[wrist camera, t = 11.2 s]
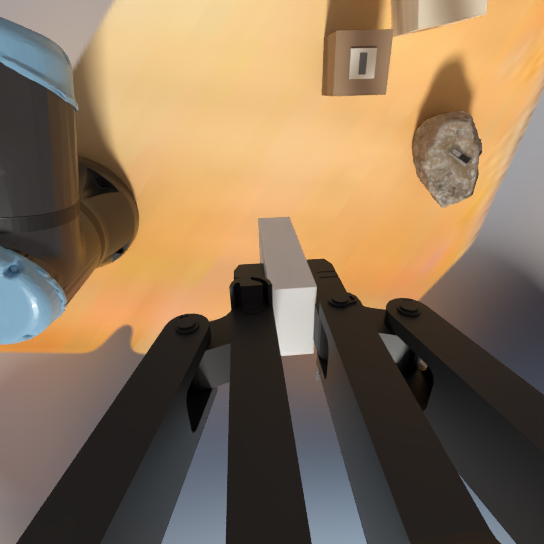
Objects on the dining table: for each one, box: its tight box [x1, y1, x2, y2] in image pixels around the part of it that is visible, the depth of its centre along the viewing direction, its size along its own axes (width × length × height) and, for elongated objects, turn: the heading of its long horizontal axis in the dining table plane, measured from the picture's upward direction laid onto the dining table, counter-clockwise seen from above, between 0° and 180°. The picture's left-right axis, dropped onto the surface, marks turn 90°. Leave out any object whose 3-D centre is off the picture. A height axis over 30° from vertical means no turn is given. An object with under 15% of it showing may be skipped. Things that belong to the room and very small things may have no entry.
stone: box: [413, 110, 482, 208], centre depth 45 cm, size 7×12×7 cm, turn 26°
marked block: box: [322, 29, 393, 96], centre depth 39 cm, size 6×6×6 cm
